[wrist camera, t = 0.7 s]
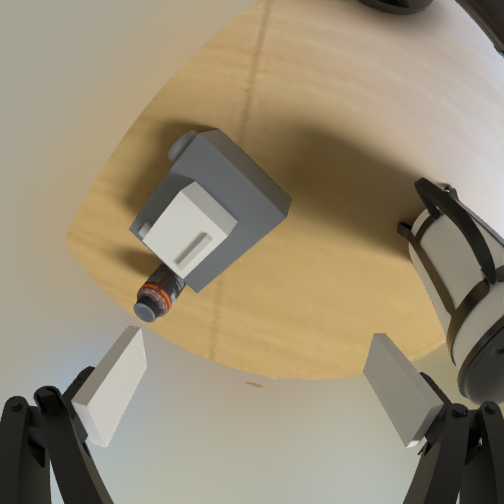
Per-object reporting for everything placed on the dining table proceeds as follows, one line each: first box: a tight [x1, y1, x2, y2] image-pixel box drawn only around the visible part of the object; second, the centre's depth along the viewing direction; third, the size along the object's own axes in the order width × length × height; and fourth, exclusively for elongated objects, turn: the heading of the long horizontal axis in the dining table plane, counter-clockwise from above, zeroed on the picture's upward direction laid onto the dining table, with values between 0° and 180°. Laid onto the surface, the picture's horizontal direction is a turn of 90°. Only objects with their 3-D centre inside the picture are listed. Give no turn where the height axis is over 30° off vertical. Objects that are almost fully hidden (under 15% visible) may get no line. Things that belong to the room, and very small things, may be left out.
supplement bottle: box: [134, 263, 186, 323], centre depth 44 cm, size 6×6×11 cm
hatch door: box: [142, 181, 238, 279], centre depth 32 cm, size 9×7×5 cm
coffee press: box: [397, 178, 504, 406], centre depth 21 cm, size 17×16×30 cm
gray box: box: [129, 129, 291, 293], centre depth 37 cm, size 18×16×8 cm
